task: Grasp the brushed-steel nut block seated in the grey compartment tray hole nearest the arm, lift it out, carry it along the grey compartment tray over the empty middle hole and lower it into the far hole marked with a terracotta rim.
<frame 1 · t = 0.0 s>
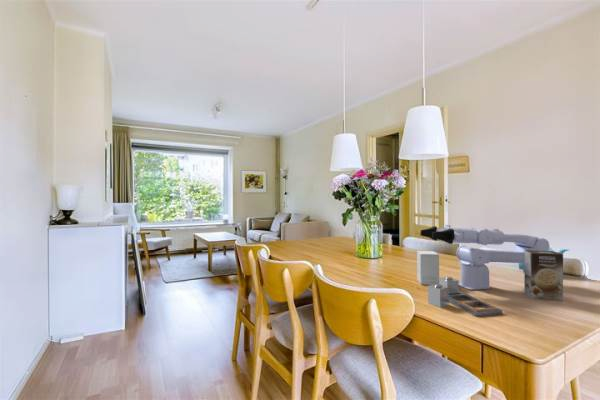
hand: (426, 234, 113), 22 cm above the table, tool horizontal, fingers open, 7 cm apart
nut: (448, 295, 107), resting in grey compartment tray
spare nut: (438, 304, 99), on the table
grey compartment tray: (462, 301, 100), on the table
supplement box: (428, 283, 123), on the table
teapot: (543, 273, 135), on the table
coffee box: (543, 297, 103), on the table
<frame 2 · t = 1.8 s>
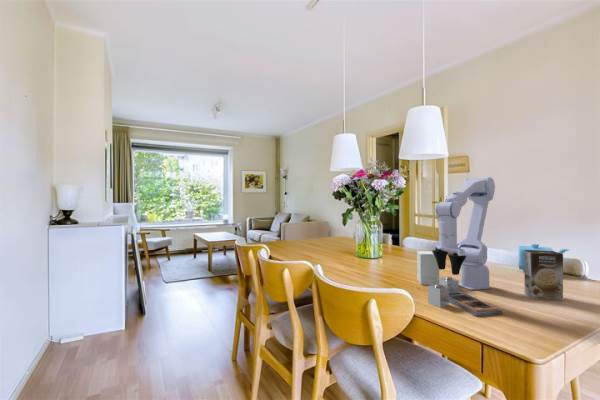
hand: (448, 271, 107), 9 cm above the table, tool pointing down, fingers open, 7 cm apart
nothing on the table moved.
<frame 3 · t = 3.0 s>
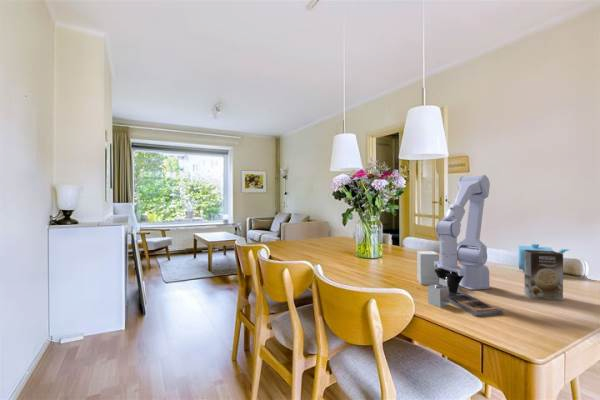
hand: (448, 290, 107), 2 cm above the table, tool pointing down, fingers closed on nut, 4 cm apart
nut: (448, 295, 107), resting in grey compartment tray, touching gripper
everything else where it was.
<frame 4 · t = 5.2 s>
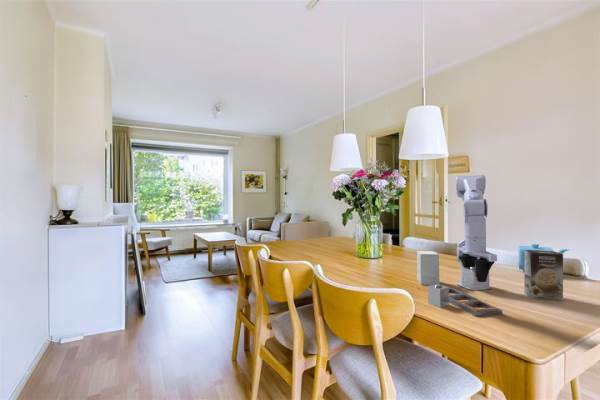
hand: (476, 279, 94), 9 cm above the table, tool pointing down, fingers closed on nut, 4 cm apart
nut: (474, 287, 94), point 7 cm above the table, touching gripper
everything else where it was.
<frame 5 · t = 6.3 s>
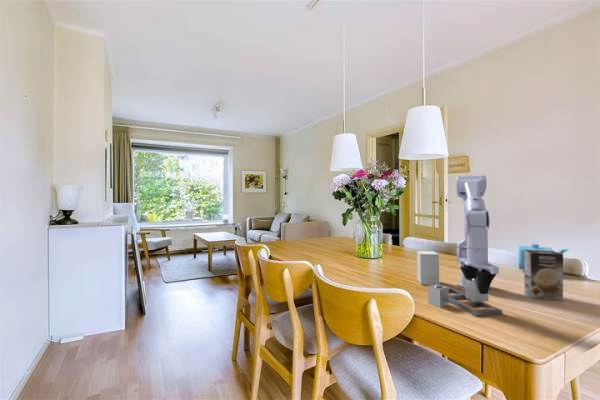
hand: (477, 291, 93), 6 cm above the table, tool pointing down, fingers closed on nut, 4 cm apart
nut: (476, 299, 93), point 3 cm above the table, touching gripper
everything else where it was.
when the fingers open (3 cm above the table, at t = 7.3 s): nut stays where it is, resting in grey compartment tray.
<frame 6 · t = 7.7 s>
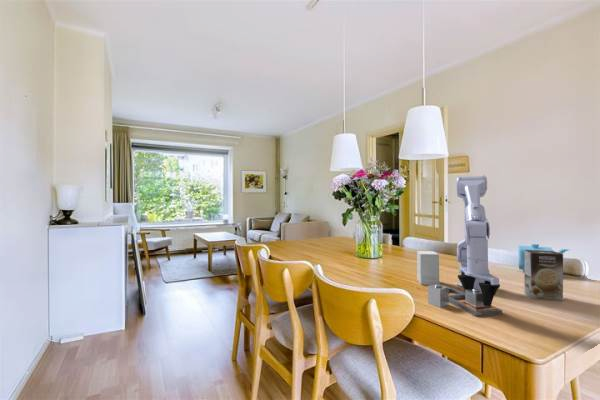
hand: (477, 301, 93), 3 cm above the table, tool pointing down, fingers open, 7 cm apart
nut: (476, 310, 93), resting in grey compartment tray
everything else where it was.
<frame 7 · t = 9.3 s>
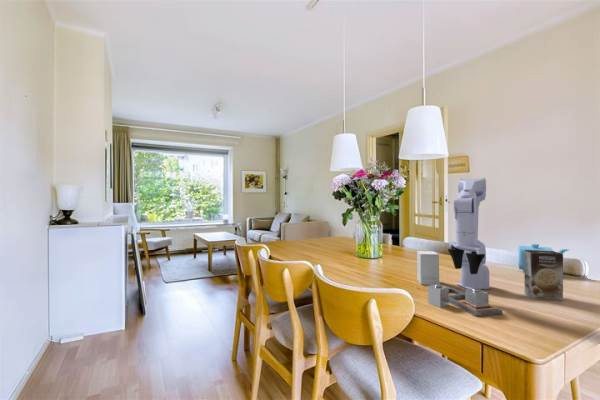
hand: (465, 271, 103), 10 cm above the table, tool pointing down, fingers open, 7 cm apart
nothing on the table moved.
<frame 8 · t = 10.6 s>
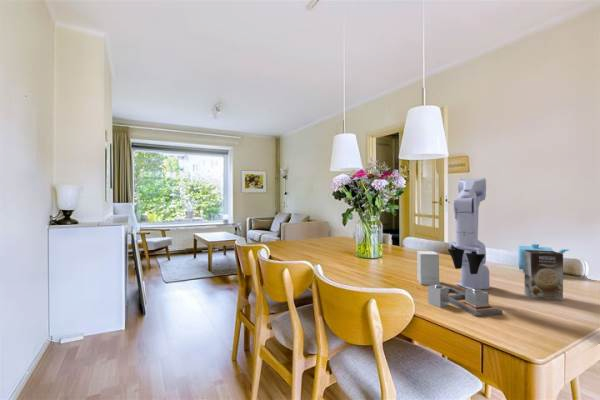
hand: (465, 271, 103), 10 cm above the table, tool pointing down, fingers open, 7 cm apart
nothing on the table moved.
at the end: nut 0.4 cm from the target spot on the grey compartment tray, point 0.0 cm above the grey compartment tray's base; nut tilted 0°; the gripper is holding nothing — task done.
